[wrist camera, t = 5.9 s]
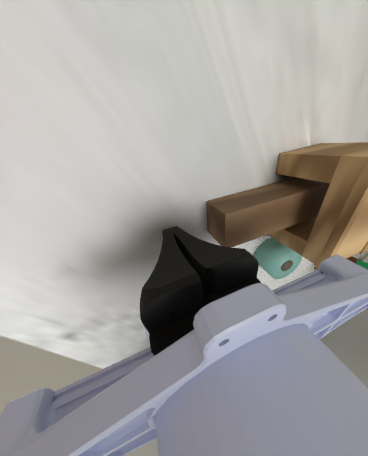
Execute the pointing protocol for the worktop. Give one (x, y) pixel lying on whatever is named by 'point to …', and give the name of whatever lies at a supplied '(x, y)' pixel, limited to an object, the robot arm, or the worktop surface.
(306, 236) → the wooden arch block
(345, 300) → the robot arm
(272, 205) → the brown wooden bar
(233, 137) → the worktop surface
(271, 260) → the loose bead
